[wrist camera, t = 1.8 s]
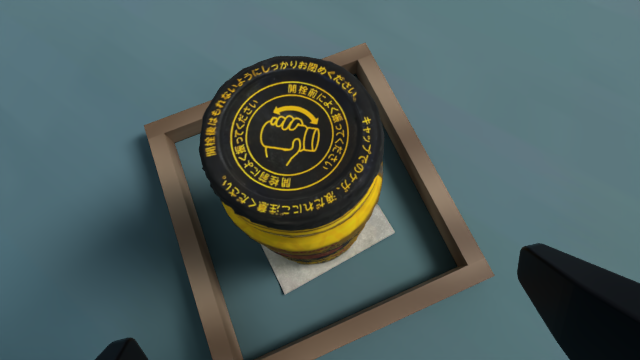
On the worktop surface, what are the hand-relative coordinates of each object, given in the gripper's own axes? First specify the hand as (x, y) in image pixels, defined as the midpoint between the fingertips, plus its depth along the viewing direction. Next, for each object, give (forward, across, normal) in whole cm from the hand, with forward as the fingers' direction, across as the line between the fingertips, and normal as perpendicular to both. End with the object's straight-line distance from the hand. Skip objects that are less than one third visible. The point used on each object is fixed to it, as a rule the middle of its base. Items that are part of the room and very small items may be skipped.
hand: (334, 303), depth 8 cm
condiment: (+12, 0, +5) cm, 13 cm away
